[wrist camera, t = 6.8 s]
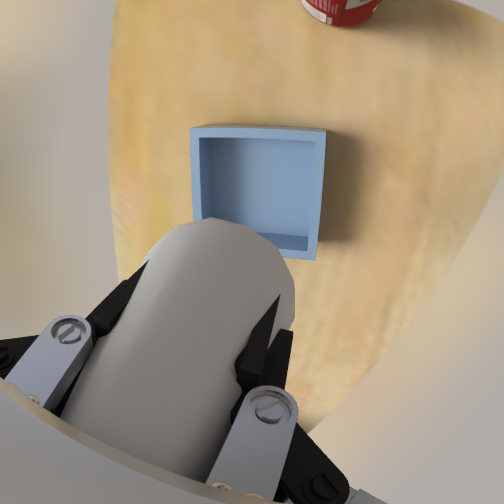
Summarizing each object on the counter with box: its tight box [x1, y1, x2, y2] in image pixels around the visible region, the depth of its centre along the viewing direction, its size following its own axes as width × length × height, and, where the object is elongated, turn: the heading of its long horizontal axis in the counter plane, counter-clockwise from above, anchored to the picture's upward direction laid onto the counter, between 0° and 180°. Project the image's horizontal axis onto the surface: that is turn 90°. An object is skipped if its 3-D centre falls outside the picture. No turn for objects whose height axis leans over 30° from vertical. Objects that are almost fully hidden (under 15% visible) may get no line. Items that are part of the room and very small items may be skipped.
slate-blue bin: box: [190, 125, 326, 261], centre depth 28 cm, size 11×11×4 cm
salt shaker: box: [60, 217, 295, 484], centre depth 8 cm, size 6×6×13 cm
